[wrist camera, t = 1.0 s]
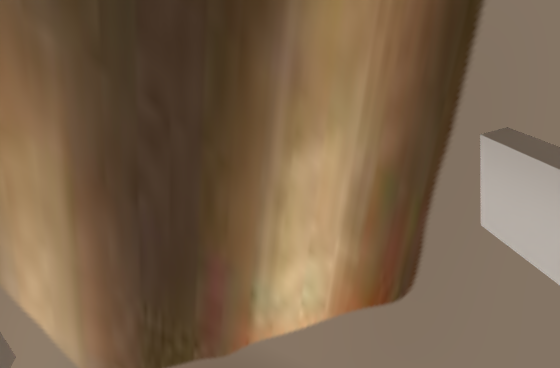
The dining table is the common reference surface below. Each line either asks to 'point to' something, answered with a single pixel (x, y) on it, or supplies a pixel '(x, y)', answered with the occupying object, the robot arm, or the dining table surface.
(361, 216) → the dining table surface
